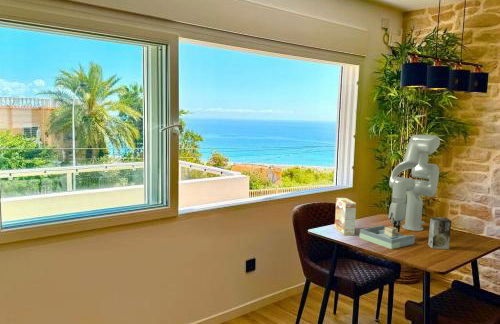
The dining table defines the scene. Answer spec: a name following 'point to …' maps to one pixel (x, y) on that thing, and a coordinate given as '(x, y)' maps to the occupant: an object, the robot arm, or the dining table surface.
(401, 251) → the dining table surface
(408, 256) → the dining table surface
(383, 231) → the box
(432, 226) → the coffee box
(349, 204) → the coffeecake box
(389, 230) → the maple block
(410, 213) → the robot arm
